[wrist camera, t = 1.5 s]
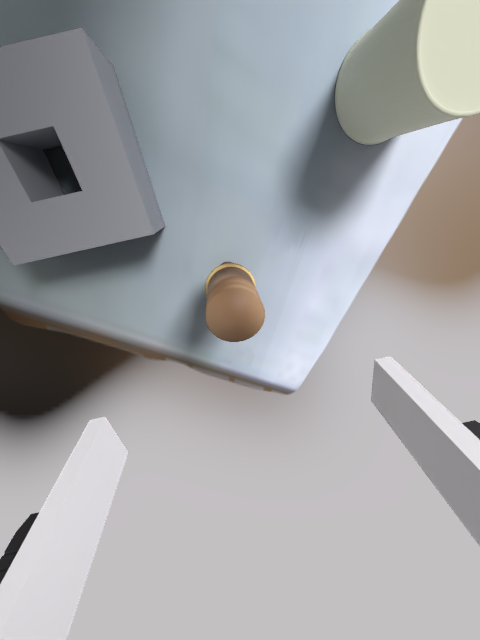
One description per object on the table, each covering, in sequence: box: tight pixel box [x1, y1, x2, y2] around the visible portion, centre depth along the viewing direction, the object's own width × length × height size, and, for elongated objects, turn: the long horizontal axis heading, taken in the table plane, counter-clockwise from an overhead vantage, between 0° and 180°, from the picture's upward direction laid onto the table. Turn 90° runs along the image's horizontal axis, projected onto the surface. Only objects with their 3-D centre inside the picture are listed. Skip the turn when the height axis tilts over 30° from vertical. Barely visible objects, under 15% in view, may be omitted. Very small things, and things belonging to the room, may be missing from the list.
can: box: [335, 0, 480, 145], centre depth 20 cm, size 9×9×12 cm
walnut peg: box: [206, 262, 265, 342], centre depth 27 cm, size 5×5×13 cm
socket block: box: [0, 27, 165, 266], centre depth 23 cm, size 14×14×6 cm
